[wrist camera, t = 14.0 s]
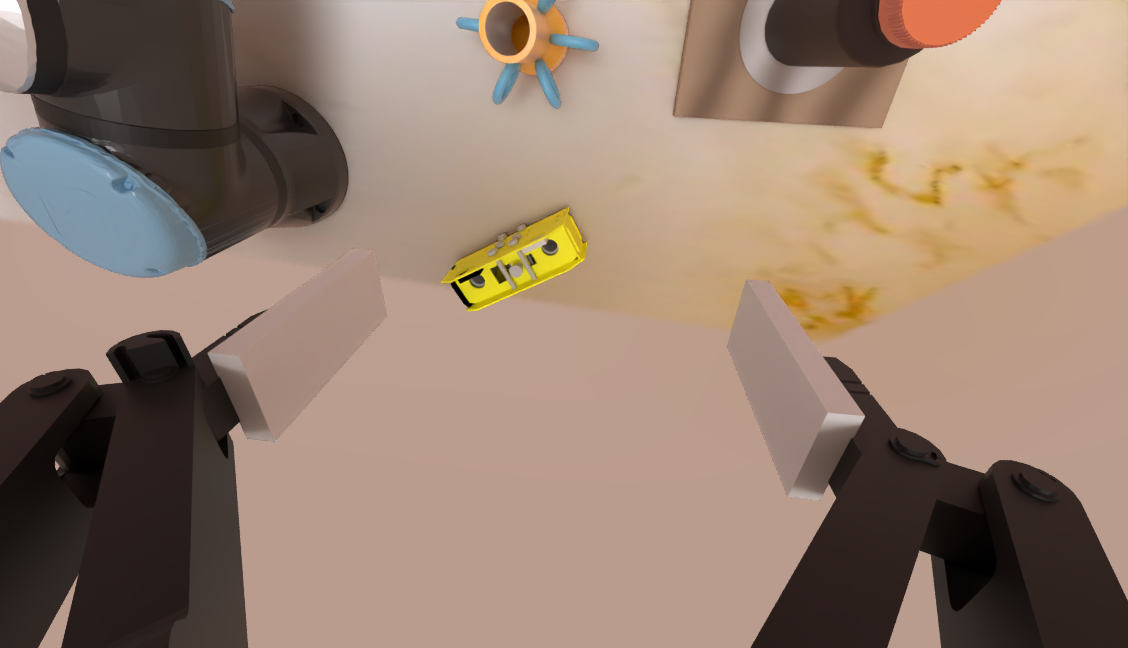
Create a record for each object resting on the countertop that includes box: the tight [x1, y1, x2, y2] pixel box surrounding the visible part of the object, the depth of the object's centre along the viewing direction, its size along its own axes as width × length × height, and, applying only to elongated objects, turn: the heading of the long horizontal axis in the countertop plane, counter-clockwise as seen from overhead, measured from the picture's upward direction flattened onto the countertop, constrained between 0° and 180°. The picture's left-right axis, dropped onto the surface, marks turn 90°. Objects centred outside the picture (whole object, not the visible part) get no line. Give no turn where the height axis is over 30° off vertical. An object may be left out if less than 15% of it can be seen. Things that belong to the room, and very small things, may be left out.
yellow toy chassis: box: [441, 207, 587, 311], centre depth 51 cm, size 16×6×8 cm, turn 117°
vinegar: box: [765, 0, 1001, 68], centre depth 30 cm, size 7×7×20 cm
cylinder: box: [456, 0, 599, 109], centre depth 36 cm, size 12×10×15 cm
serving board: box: [673, 0, 909, 128], centre depth 39 cm, size 20×16×2 cm
